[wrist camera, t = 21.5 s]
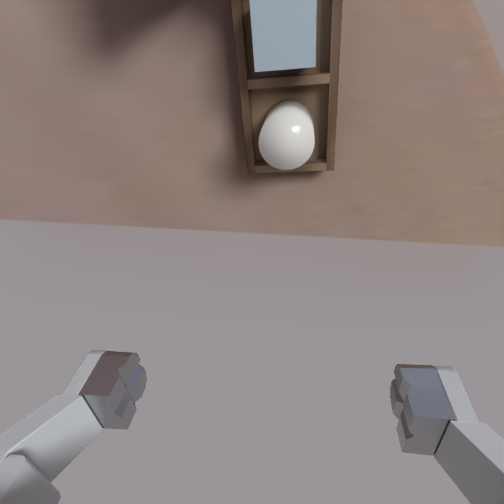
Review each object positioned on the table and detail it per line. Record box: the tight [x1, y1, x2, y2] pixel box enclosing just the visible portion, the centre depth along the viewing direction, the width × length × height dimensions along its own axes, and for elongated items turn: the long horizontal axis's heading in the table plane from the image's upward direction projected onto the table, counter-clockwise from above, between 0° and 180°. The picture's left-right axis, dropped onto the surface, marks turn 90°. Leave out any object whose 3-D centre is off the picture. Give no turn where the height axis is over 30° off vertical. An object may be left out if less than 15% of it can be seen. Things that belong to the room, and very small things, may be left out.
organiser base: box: [231, 0, 342, 173], centre depth 33 cm, size 9×17×3 cm, turn 5°
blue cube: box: [249, 0, 317, 72], centre depth 29 cm, size 5×5×5 cm
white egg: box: [258, 99, 315, 170], centre depth 33 cm, size 5×5×6 cm
